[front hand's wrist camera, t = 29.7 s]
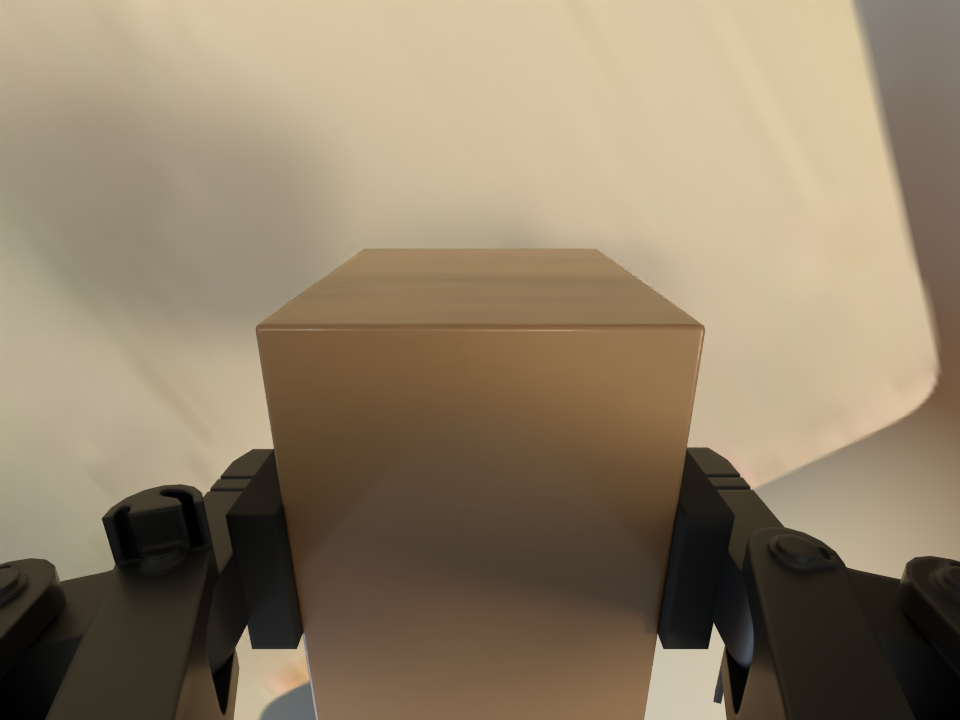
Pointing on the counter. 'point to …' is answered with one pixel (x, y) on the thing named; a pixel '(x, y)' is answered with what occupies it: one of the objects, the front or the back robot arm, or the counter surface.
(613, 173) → the counter surface
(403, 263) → the brown cardboard box
